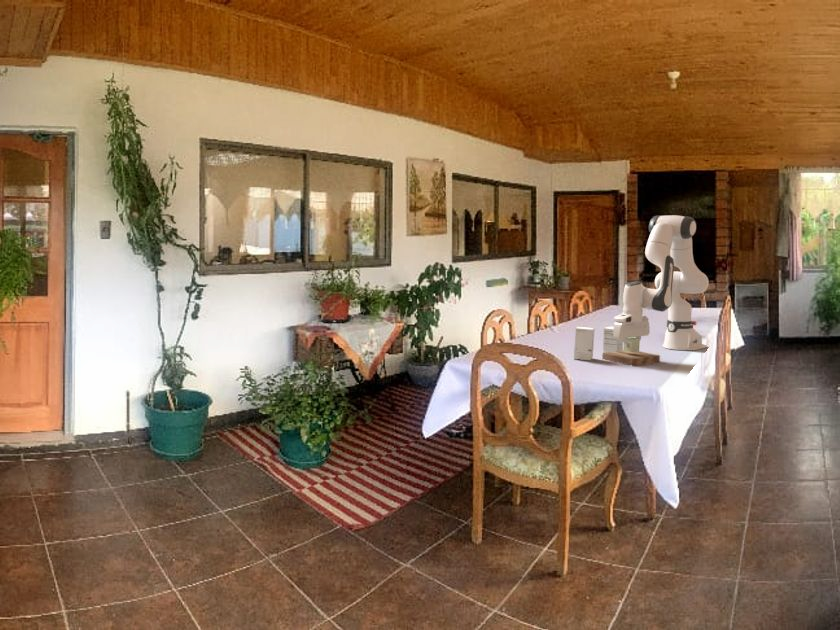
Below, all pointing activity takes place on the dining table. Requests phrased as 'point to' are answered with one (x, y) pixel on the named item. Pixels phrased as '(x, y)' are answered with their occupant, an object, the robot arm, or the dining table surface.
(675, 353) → the dining table surface
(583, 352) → the skincare box
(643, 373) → the dining table surface
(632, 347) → the sage block
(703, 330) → the dining table surface
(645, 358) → the walnut stand
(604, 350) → the supplement box
